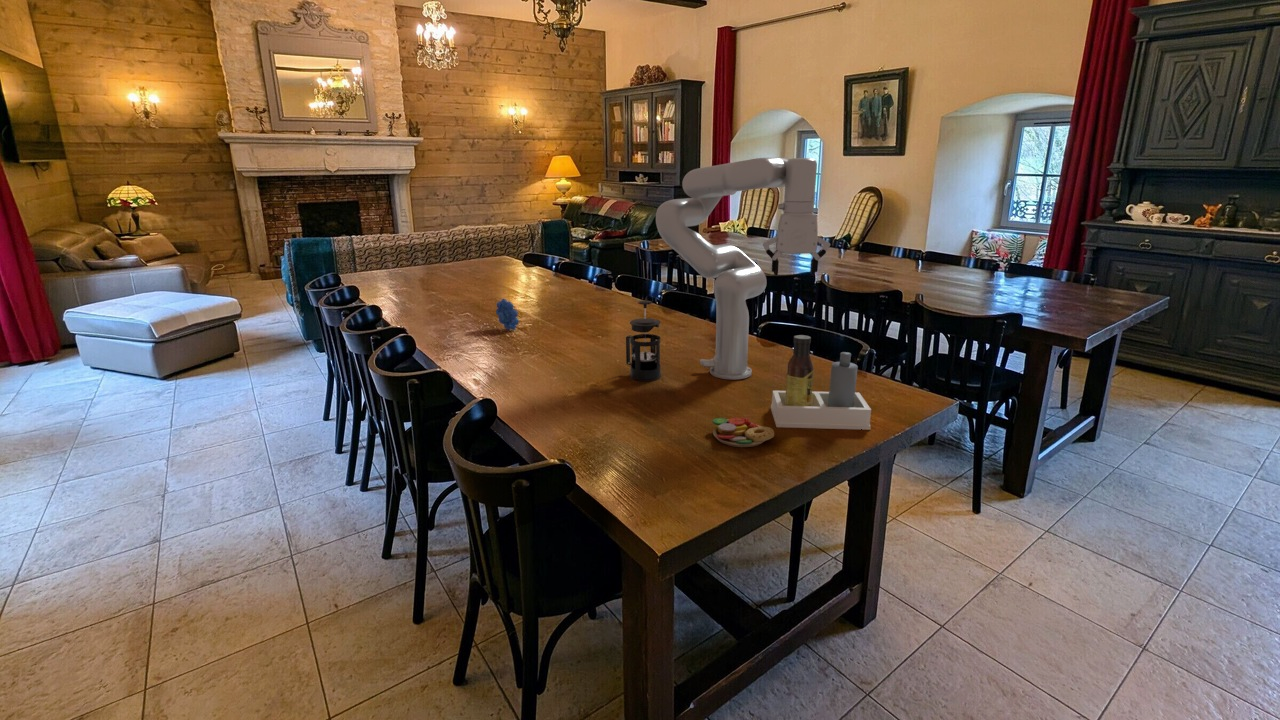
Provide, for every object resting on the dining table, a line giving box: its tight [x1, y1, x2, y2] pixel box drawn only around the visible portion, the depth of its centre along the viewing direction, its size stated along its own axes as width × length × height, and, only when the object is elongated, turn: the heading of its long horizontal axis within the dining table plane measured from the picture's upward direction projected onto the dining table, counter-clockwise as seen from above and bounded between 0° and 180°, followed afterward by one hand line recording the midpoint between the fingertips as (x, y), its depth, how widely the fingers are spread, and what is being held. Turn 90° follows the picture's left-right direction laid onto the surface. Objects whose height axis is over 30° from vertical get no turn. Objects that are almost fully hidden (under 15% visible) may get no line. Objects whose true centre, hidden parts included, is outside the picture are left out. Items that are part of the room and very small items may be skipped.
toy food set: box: [712, 417, 775, 448], centre depth 141 cm, size 13×13×3 cm
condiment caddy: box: [770, 351, 872, 431], centre depth 148 cm, size 22×12×17 cm, turn 85°
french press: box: [625, 300, 662, 382], centre depth 179 cm, size 12×9×23 cm
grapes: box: [495, 298, 520, 331], centre depth 233 cm, size 12×7×12 cm, turn 53°
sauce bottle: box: [785, 334, 815, 406], centre depth 148 cm, size 7×6×20 cm
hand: (794, 274), depth 161 cm, fingers open, 9 cm apart
